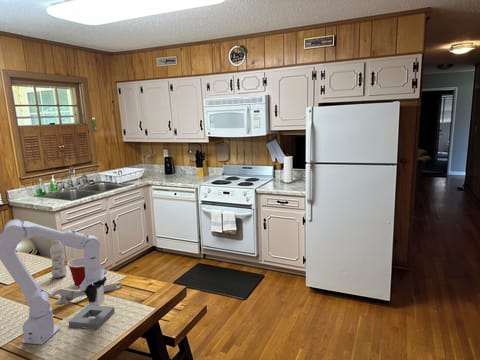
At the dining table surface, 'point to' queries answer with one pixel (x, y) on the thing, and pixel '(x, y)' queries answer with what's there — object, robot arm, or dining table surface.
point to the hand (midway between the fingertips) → (95, 298)
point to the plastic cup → (77, 270)
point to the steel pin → (98, 296)
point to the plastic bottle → (57, 259)
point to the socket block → (96, 322)
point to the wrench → (77, 293)
